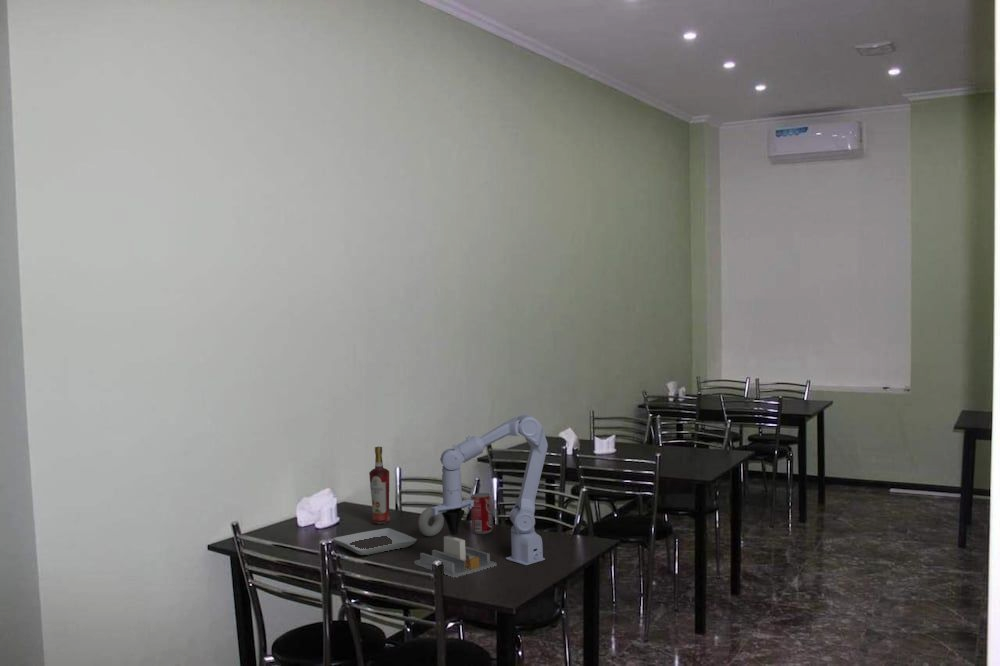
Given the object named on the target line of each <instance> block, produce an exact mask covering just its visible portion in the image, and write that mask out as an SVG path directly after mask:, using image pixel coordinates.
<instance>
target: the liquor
mask: <svg viewBox="0 0 1000 666" xmlns="http://www.w3.org/2000/svg"><path fill="white" fill-rule="evenodd" d="M374 454H375V462H374V464H375V465H374V468H373V469H371V470H370V471H369V473H368V474H369V482H370V485H369V486H370V487H369V488H370V495H371V507H372V519H371V521H372V522H373V521H375V522H386V521H389V520H390V521H391V517H390V470H388V469H387V468H385V467H384V463H383V446H375V447H374ZM390 521H389V522H390Z"/></svg>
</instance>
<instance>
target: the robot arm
mask: <svg viewBox="0 0 1000 666" xmlns="http://www.w3.org/2000/svg"><path fill="white" fill-rule="evenodd" d="M520 435H521V436H522V437H524V439H525V440H526V442H527V443H528V445H529V447H530V448H529V449H530V450H529V454H528V458H527V461H526V466H525V471H524V474H523V477H522V478H523V479H522V482H521V487H520V492H519V496H518V498H517V499H516V501H515V505H514V506H513V508H512V509H511V511H510V513H509V519H510V521H511V523H512V524H513V525H512V526H511V528H510V539H511V555H510V556H507V557H505V559H506V560H507V561H510V562H515V563H518V564H520V565H524V566H529V565H532V564H535V563H538V562H542V561H545V560H546V558H545V557H543V556H544V555H543V554H544V552H543V550H544V549H543V548H544V547H543V538H542V536H541V535H539V534H538V533H537V532H536V530H535V525H536V518H535V512H536V507H535V506H536V504H535V503H536V498H537V493H538V489H539V484H540V481H541V476H542V472H543V468H544V464H545V460H546V455H547V451H548V447H549V445H548V444H549V443H548V441H547V438H546V436H545V435H546V434H545V431H544V427H543V426H542V424H541V423H540V422H539V420H537V418H535V417H533V416H531V415H530V414H527V413H522V414H519V415H518V416H516V417H512V418H510V419H508V420H507V421H504V422H503V423H501V424H500V425H498V426H496V427H495V428H493V429H492V430H489V431H488V432H487V433H485V434H483V435H482V436H480V437H478V436H475V435H473V436H467V437H466V438H465V440H463V441H462V442H460V443H458V444H453V445H452V446H451V447H452V448H447V449H445V450H444V451H442V453H441V455H440V462H441V464H442V468H441V471H442V474H441V479H442V480H441V483H442V503H441V504H438V505H435V506H431V507H432V508H431V513H432V514H434V515H437V514H439V513H442V515H443V516H444V521H445V522H446V524H447V527H448V530H449V531H448V532H449V534H450V535H451V536H456V535H458V533H459V529H460V524H461V521H462V519H463V517H464V515H465V510H463V509H465V508H469V507H470V508H471V507H474V500H471V498H470V499H463V494H462V493H463V492H462V491H463V490H462V488H463V487H462V473H461V466H462V464H465V463H466V462H469V461H471V460H473V459H474V458H476V457H477V456H479V455H481V454H483V453H484V450H485V448H486V447H487V446H489V445H491V444H493V443H495V442H497V441H499V440H501V439H504V438H505V437H507V436H511V437H512V436H514V437H519V436H520Z"/></svg>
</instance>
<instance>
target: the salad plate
mask: <svg viewBox="0 0 1000 666" xmlns="http://www.w3.org/2000/svg"><path fill="white" fill-rule="evenodd" d="M381 536H387V537H388V538H390V539H391V540H392V544H388V545H383V546H378V547H374V548H369V549H366V548H365V549H364V548H363V549H362V548H361V549H360V548H358V547H355V545H350V543H352V542H355V541H359V540H364V539H369V538H373V537H381ZM332 540H333V542H334V543H336V544H337V545H339V546H340V547H343V548H345V549H347V550H349V551H351V552H354V553H355V554H357V555H360V556H363V555H368V556H370V555H369V554H373V553H378V552H384V551H388V552H390V551H389V550H393V551H395V550H394V549H398V550H401V549H400V548H402V549H406V548H409V547H410V546H413V544H415V543H416V542H417V538H415V537H413V536H410V535H408V534H406V533H403V532H400V531H397V530H395V529H393V528H389V527H385V528H380V529H374V530H373V529H372V530H367V531H362V532H356V533H352V534H347V535H341V536H336V537H333V538H332ZM384 553H385V552H384Z"/></svg>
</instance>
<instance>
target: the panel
mask: <svg viewBox="0 0 1000 666" xmlns="http://www.w3.org/2000/svg"><path fill="white" fill-rule="evenodd" d="M465 546H466V540H465V539H463V538H460V537H456V536H453V535H445V536H443V547H444V550H443V553H446V554H449V555H452V556H456V557H459V558H462V559H465V560H466V553H465Z"/></svg>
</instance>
